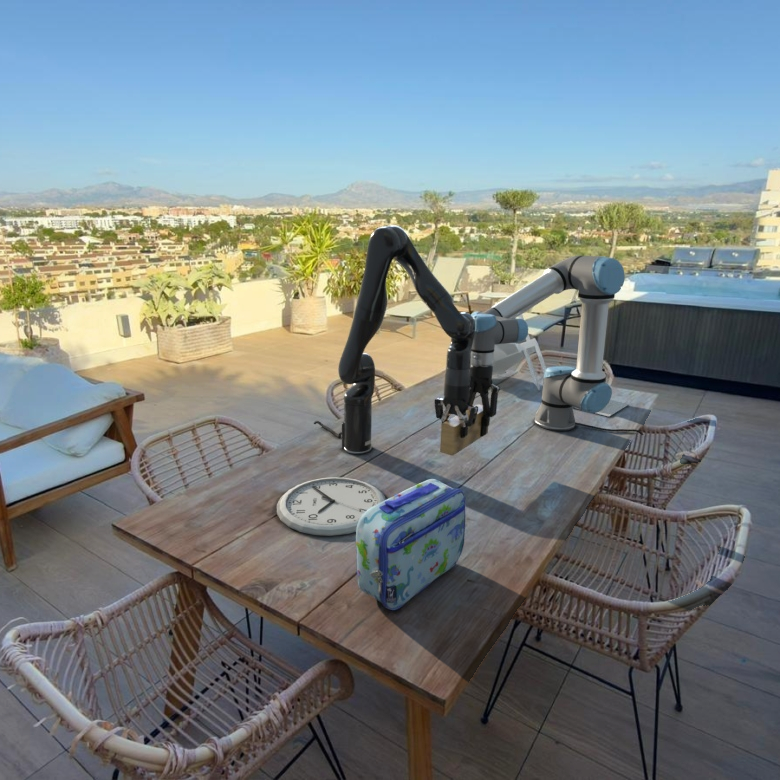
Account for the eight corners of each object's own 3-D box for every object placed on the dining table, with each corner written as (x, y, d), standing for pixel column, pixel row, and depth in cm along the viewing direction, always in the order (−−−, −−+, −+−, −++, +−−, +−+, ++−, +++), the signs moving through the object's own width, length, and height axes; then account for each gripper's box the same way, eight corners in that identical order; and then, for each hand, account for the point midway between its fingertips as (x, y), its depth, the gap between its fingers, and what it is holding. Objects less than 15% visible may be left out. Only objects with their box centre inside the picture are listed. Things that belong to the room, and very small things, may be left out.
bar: (475, 429, 175) (477, 404, 172) (487, 433, 173) (489, 407, 170) (440, 452, 158) (441, 423, 155) (452, 455, 155) (454, 427, 152)
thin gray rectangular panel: (608, 416, 214) (573, 407, 224) (608, 416, 214) (573, 408, 224) (628, 404, 229) (594, 396, 238) (628, 405, 229) (594, 397, 238)
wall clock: (392, 527, 129) (268, 531, 127) (391, 533, 130) (269, 537, 127) (383, 473, 158) (282, 475, 155) (383, 478, 158) (282, 480, 156)
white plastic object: (486, 418, 266) (465, 396, 241) (467, 346, 288) (447, 318, 263) (557, 395, 254) (543, 368, 229) (531, 321, 276) (517, 290, 251)
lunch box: (385, 624, 100) (387, 528, 94) (349, 596, 108) (348, 506, 101) (468, 566, 118) (474, 482, 112) (432, 545, 125) (436, 466, 119)
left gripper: (429, 379, 154) (427, 433, 159) (473, 389, 146) (469, 444, 151) (442, 374, 160) (440, 426, 165) (485, 383, 152) (481, 437, 157)
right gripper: (450, 361, 166) (447, 430, 173) (501, 371, 156) (495, 443, 163) (462, 357, 171) (458, 424, 178) (511, 366, 161) (505, 436, 168)
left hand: (454, 434), depth 158 cm, fingers open, 5 cm apart
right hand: (476, 433), depth 171 cm, fingers closed on bar, 4 cm apart
